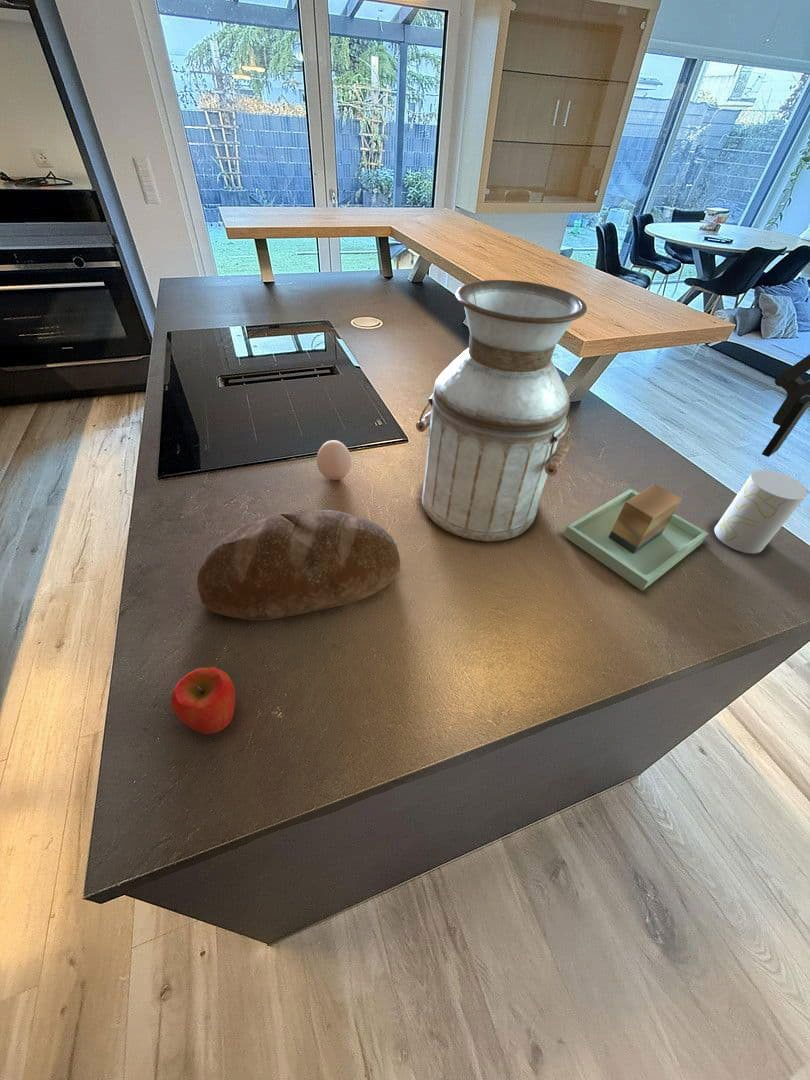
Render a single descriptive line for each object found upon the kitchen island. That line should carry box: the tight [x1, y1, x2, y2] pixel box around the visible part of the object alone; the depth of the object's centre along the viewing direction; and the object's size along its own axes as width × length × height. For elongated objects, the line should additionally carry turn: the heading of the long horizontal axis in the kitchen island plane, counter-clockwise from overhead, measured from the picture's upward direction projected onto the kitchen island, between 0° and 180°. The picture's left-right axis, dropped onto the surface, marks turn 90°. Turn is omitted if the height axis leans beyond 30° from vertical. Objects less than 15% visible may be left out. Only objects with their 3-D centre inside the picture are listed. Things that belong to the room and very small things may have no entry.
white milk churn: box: [415, 279, 588, 542], centre depth 75 cm, size 25×22×36 cm
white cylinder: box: [714, 469, 808, 554], centre depth 80 cm, size 8×8×12 cm
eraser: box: [609, 483, 683, 554], centre depth 79 cm, size 5×9×8 cm, turn 127°
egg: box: [316, 439, 353, 481], centre depth 88 cm, size 7×7×8 cm
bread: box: [196, 509, 401, 622], centre depth 67 cm, size 16×29×11 cm, turn 107°
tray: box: [563, 488, 709, 592], centre depth 81 cm, size 16×20×2 cm
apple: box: [170, 666, 236, 735], centre depth 52 cm, size 6×6×8 cm
